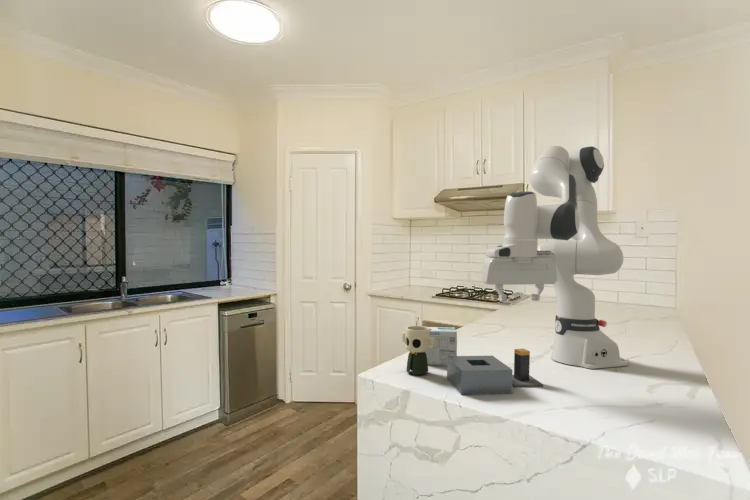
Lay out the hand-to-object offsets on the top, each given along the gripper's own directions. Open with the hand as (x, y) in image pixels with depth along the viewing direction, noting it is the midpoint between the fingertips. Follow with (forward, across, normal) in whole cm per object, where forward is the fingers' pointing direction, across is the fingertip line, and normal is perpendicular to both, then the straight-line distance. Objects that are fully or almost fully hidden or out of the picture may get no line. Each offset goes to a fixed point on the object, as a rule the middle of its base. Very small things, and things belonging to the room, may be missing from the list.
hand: (519, 300), depth 113 cm
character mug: (+22, +27, -8) cm, 35 cm away
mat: (+22, 0, +2) cm, 22 cm away
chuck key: (+21, 0, +2) cm, 21 cm away
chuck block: (+22, +13, +1) cm, 25 cm away
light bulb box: (+22, +18, -17) cm, 33 cm away
